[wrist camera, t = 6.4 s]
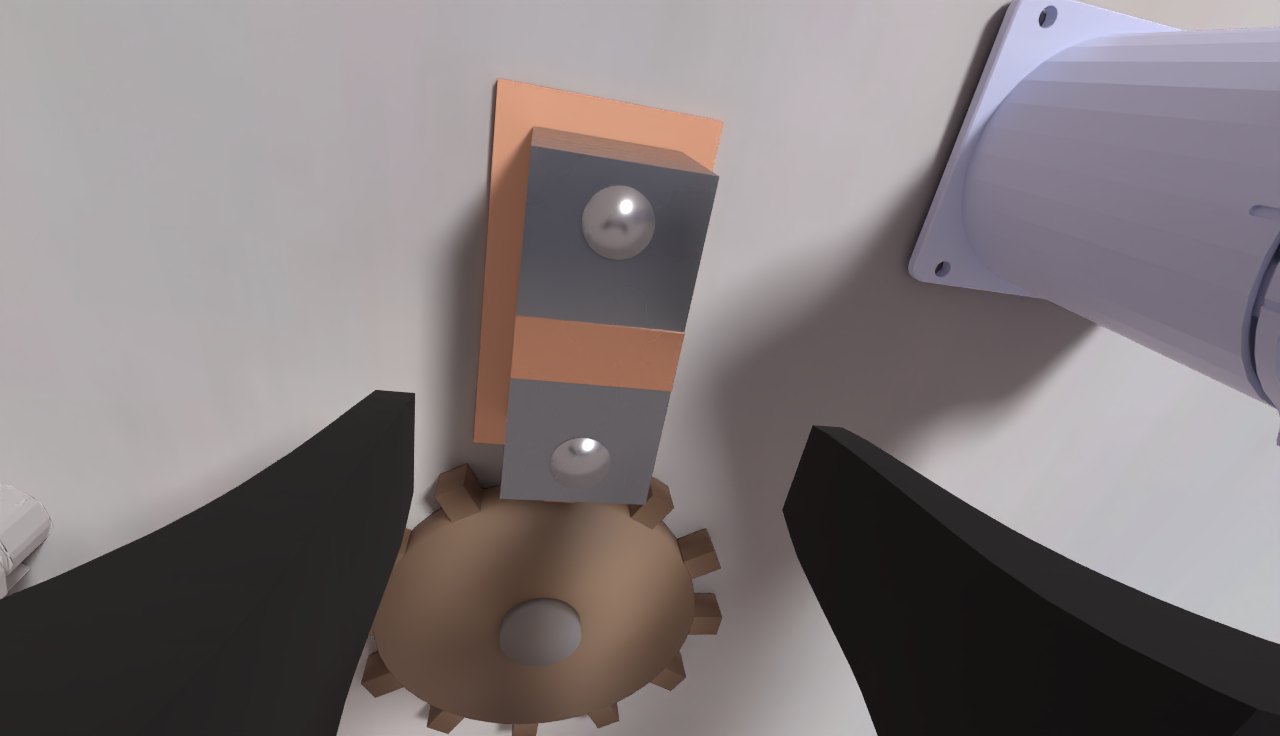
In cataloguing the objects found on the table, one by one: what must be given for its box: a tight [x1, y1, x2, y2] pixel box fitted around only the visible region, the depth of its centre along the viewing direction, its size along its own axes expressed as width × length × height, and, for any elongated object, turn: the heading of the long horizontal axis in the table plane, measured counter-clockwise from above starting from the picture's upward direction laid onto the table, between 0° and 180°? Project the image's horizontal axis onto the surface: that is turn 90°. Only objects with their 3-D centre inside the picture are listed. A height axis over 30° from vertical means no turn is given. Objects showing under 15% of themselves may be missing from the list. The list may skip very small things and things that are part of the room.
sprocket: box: [361, 464, 722, 736], centre depth 23 cm, size 14×14×2 cm
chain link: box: [500, 126, 719, 505], centre depth 16 cm, size 4×9×4 cm, turn 170°
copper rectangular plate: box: [473, 78, 723, 445], centre depth 18 cm, size 6×11×1 cm, turn 170°
